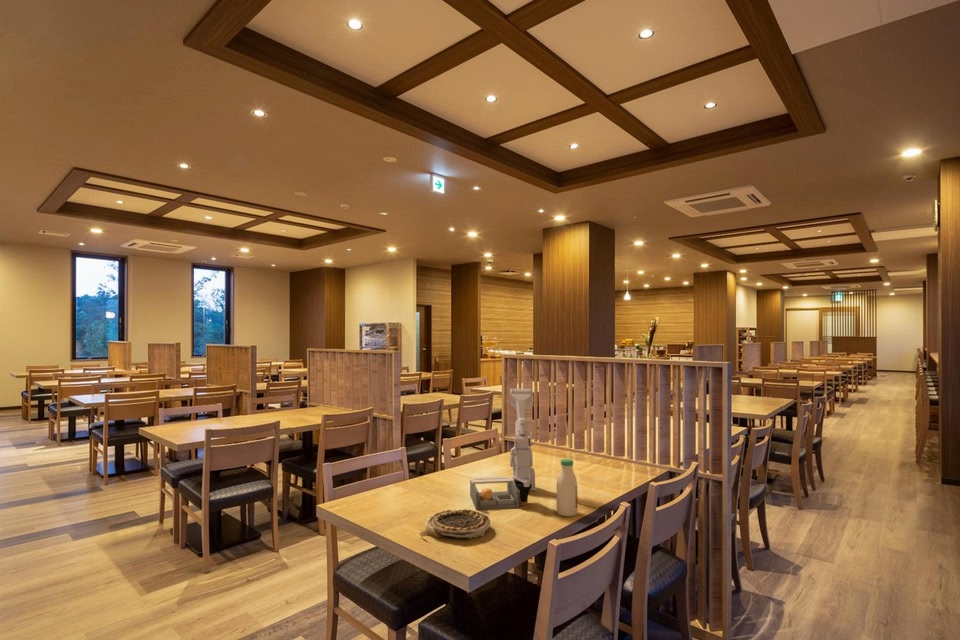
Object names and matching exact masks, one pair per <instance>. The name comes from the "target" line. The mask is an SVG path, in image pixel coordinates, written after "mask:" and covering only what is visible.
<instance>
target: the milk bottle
mask: <svg viewBox="0 0 960 640" xmlns="http://www.w3.org/2000/svg"><path fill="white" fill-rule="evenodd" d="M573 461H574V460H572V459H569V458H562V459H561V460H560V467H561V468H560V472H559V474H558V476H557V480H556V513H557V515H559V516H561V517H575V516H577V515H578V481H577V477H576V475H575V472H574V469H573V467H574V462H573Z"/></svg>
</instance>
